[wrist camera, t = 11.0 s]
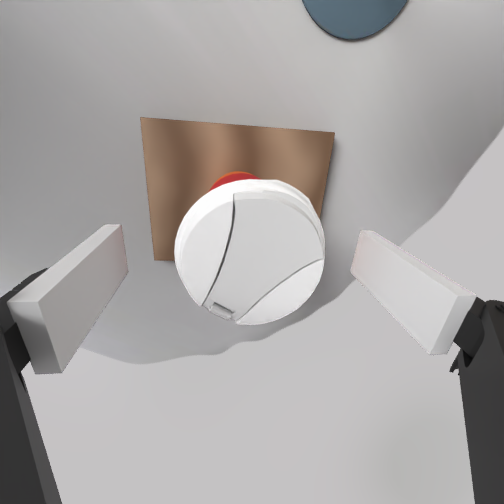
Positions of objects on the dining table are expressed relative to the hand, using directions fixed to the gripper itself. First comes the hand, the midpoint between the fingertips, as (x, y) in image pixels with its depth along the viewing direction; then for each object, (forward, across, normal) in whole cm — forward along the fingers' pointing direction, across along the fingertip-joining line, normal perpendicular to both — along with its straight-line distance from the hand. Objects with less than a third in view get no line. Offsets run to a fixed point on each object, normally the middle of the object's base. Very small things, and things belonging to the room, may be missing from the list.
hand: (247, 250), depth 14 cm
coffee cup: (+13, 0, 0) cm, 13 cm away
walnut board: (+15, 0, 0) cm, 15 cm away
